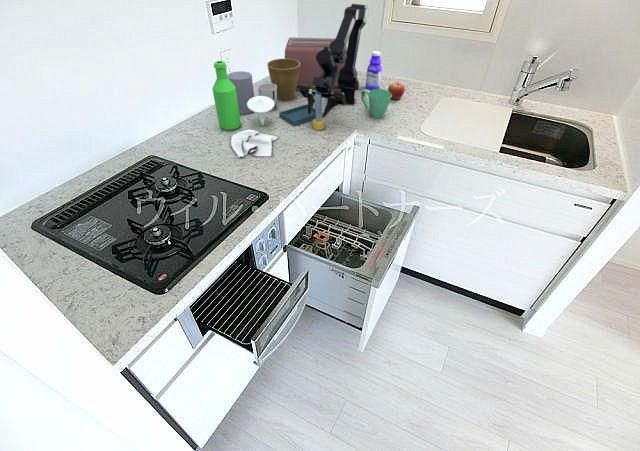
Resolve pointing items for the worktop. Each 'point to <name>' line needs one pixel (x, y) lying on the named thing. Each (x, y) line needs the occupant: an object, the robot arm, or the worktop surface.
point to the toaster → (309, 58)
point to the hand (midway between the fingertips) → (316, 115)
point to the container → (242, 89)
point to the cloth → (252, 143)
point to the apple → (396, 90)
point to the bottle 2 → (374, 72)
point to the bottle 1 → (225, 99)
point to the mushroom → (260, 106)
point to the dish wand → (318, 113)
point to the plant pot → (284, 77)
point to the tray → (298, 115)
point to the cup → (269, 92)
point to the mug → (376, 101)
